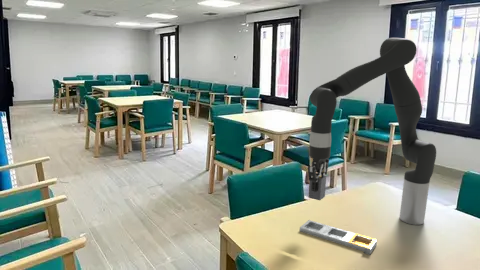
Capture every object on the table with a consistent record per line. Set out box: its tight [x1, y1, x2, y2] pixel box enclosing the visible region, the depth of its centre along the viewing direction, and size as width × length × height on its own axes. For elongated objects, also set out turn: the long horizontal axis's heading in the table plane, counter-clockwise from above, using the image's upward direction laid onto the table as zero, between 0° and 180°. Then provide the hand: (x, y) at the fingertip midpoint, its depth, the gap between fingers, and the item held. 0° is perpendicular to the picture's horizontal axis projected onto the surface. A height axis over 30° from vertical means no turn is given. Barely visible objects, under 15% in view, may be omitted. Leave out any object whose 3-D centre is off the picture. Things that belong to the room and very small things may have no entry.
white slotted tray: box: [299, 219, 378, 256], centre depth 132 cm, size 8×26×2 cm, turn 55°
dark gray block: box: [307, 175, 327, 201], centre depth 133 cm, size 4×4×9 cm
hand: (317, 188), depth 134 cm, fingers closed on dark gray block, 4 cm apart
